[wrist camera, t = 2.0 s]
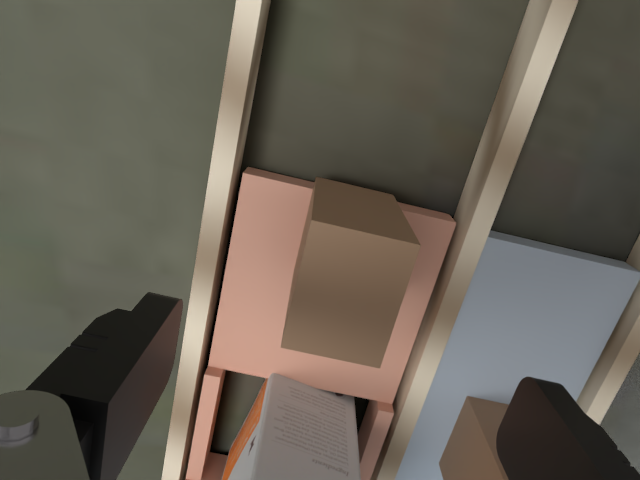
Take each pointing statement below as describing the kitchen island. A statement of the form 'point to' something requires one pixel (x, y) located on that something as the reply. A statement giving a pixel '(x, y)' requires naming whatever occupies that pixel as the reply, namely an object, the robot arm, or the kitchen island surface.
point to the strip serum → (321, 298)
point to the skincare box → (296, 435)
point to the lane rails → (461, 256)
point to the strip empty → (513, 348)
